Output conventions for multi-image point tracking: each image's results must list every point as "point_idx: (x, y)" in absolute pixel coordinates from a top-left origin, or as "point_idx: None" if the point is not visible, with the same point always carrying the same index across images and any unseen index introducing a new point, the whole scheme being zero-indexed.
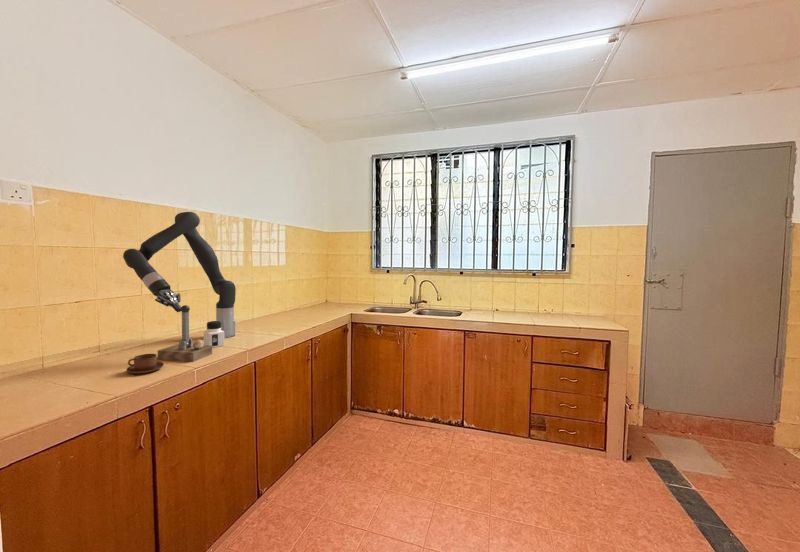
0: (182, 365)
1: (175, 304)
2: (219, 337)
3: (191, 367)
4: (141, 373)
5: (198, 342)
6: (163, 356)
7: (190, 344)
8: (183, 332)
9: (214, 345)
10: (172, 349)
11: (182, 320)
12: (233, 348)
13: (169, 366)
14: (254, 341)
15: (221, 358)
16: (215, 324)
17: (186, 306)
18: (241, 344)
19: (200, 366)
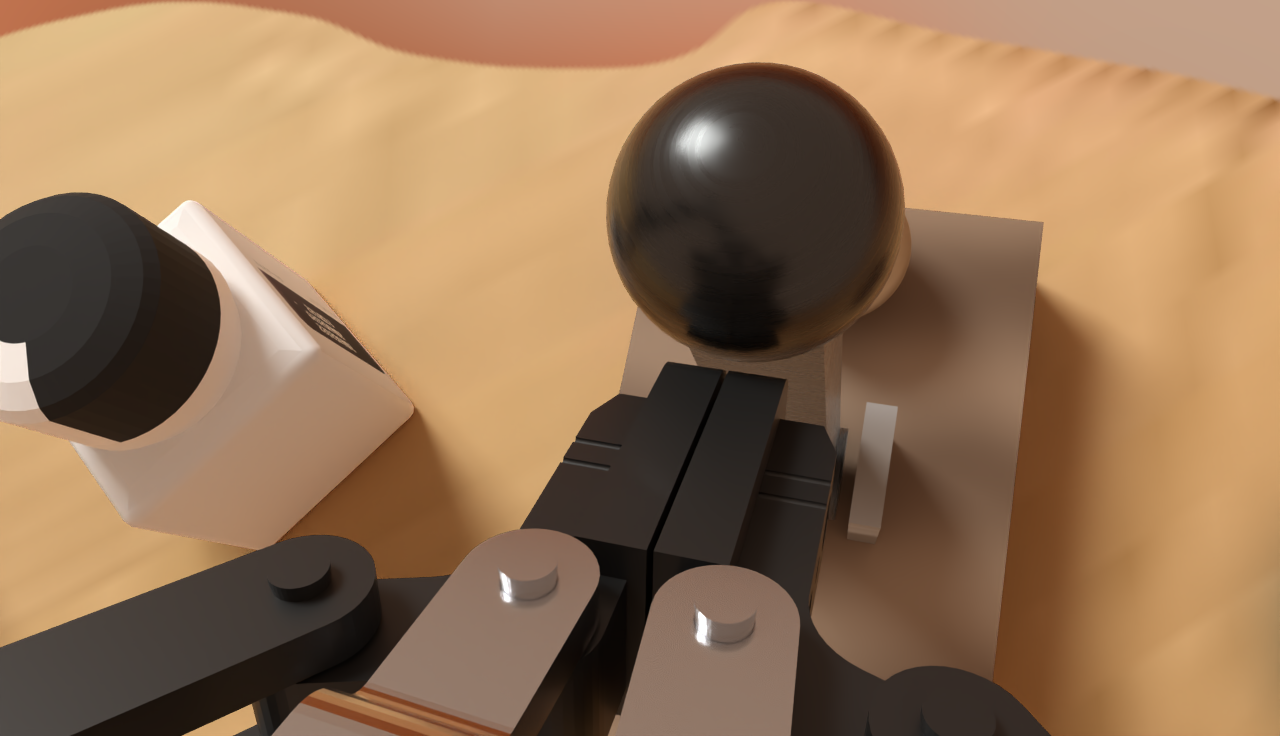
0: (1191, 313)
1: (738, 559)
2: (277, 273)
3: (1251, 165)
4: None
5: None
6: None
7: None
8: (832, 432)
9: (365, 354)
10: (894, 631)
11: (830, 383)
12: (442, 114)
13: (1257, 448)
14: (147, 36)
15: (863, 35)
16: (156, 233)
17: (800, 80)
18: (267, 113)
19: (1197, 90)
